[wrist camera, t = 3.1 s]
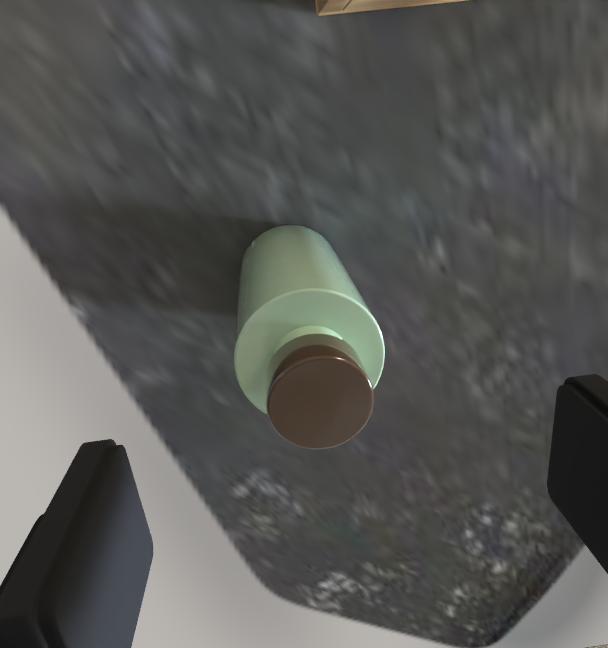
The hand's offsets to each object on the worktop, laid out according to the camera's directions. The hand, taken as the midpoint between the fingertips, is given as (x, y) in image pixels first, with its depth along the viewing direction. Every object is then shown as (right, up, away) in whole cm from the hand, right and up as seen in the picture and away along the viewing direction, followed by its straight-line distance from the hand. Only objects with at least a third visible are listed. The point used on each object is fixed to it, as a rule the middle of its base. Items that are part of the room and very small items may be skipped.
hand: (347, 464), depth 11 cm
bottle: (-2, +5, +13) cm, 14 cm away
